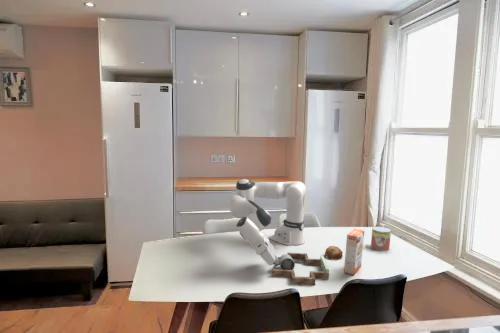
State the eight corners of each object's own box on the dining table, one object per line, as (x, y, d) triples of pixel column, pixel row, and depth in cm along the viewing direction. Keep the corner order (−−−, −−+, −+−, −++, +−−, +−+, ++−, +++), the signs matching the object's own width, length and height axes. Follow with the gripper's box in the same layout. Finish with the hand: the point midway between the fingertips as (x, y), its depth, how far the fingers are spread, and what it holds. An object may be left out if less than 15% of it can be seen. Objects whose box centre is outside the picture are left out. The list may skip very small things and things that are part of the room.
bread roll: (325, 258, 214) (320, 247, 213) (340, 252, 214) (336, 240, 213) (330, 265, 204) (325, 253, 203) (346, 258, 205) (341, 246, 203)
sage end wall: (325, 278, 178) (326, 269, 178) (319, 264, 196) (320, 255, 196) (328, 278, 178) (329, 269, 178) (322, 264, 196) (323, 255, 195)
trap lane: (272, 282, 172) (272, 276, 171) (270, 256, 204) (271, 251, 204) (331, 285, 171) (332, 279, 170) (320, 259, 204) (320, 254, 203)
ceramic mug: (291, 266, 192) (291, 252, 191) (294, 272, 184) (295, 258, 183) (272, 266, 191) (272, 252, 190) (274, 272, 183) (274, 258, 182)
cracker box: (354, 275, 183) (357, 236, 180) (343, 272, 186) (346, 234, 184) (362, 266, 195) (365, 230, 192) (351, 264, 198) (353, 227, 195)
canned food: (370, 248, 224) (371, 230, 222) (371, 243, 234) (372, 225, 233) (389, 251, 220) (391, 233, 218) (389, 246, 230) (391, 228, 229)
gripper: (256, 240, 196) (273, 258, 197) (256, 254, 175) (274, 274, 176) (265, 233, 195) (282, 251, 196) (265, 246, 175) (284, 266, 176)
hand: (278, 262), depth 186 cm, fingers closed
